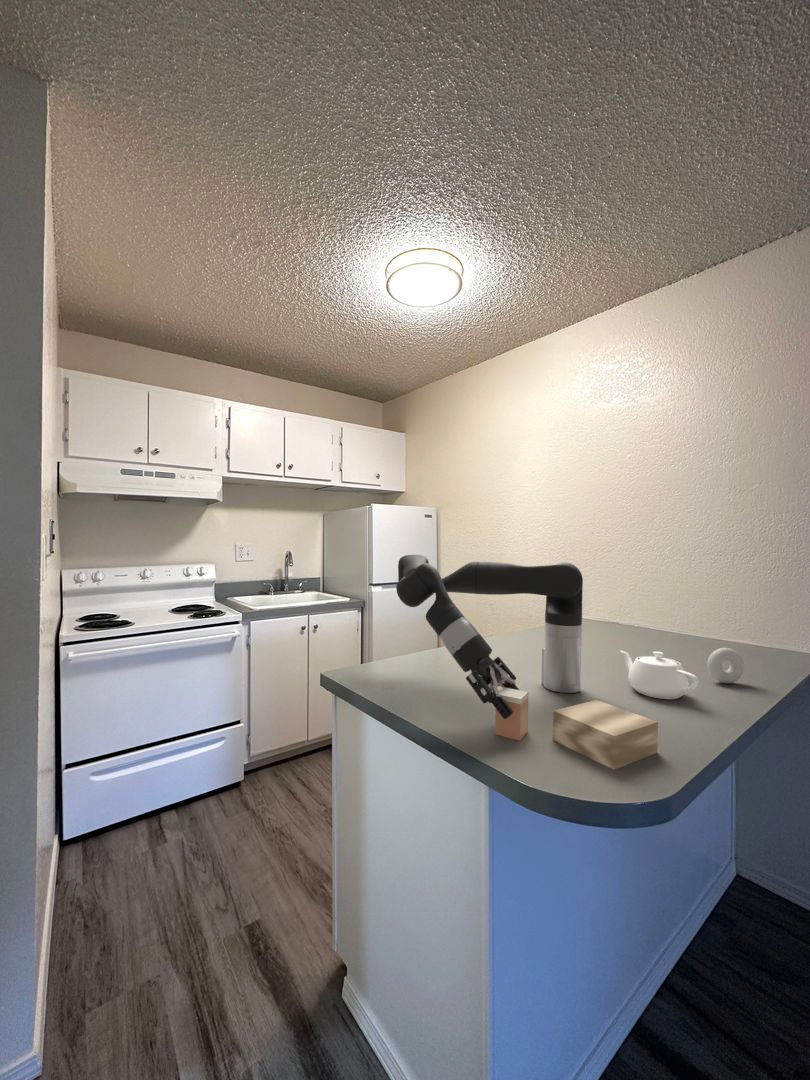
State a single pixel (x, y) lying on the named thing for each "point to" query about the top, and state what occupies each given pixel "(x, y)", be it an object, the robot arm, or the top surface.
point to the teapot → (658, 676)
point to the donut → (734, 669)
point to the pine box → (605, 733)
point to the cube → (513, 714)
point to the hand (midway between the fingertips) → (516, 709)
